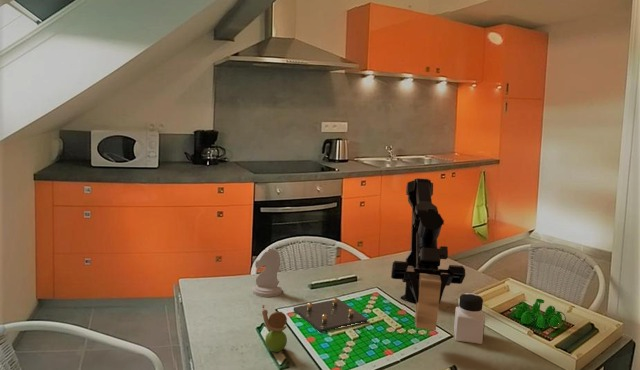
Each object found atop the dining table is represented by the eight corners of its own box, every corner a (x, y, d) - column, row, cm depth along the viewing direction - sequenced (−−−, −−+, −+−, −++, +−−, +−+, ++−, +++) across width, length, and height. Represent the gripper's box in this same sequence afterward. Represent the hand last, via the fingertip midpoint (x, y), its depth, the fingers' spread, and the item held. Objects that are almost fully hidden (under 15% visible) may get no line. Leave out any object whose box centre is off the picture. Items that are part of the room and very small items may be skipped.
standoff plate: (338, 301, 154) (338, 293, 153) (367, 322, 140) (367, 312, 140) (293, 310, 146) (293, 301, 146) (319, 332, 132) (320, 322, 132)
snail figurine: (261, 345, 124) (262, 301, 122) (286, 345, 125) (287, 301, 123) (260, 355, 119) (261, 309, 117) (286, 355, 119) (288, 310, 117)
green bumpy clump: (569, 337, 137) (572, 314, 136) (513, 328, 141) (515, 305, 140) (560, 316, 151) (562, 295, 150) (509, 308, 155) (511, 288, 154)
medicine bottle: (482, 344, 130) (487, 302, 128) (455, 341, 131) (459, 299, 129) (479, 332, 136) (483, 292, 135) (453, 329, 138) (457, 289, 136)
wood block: (414, 319, 128) (419, 273, 126) (433, 321, 128) (438, 275, 126) (415, 327, 123) (421, 279, 121) (435, 330, 123) (441, 281, 121)
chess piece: (256, 285, 166) (256, 242, 163) (284, 287, 165) (285, 244, 162) (249, 295, 156) (249, 251, 154) (278, 298, 155) (280, 253, 153)
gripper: (394, 231, 127) (393, 286, 118) (467, 236, 125) (472, 292, 116) (391, 251, 136) (390, 304, 127) (459, 256, 134) (463, 310, 125)
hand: (428, 302), depth 123 cm, fingers closed on wood block, 5 cm apart
